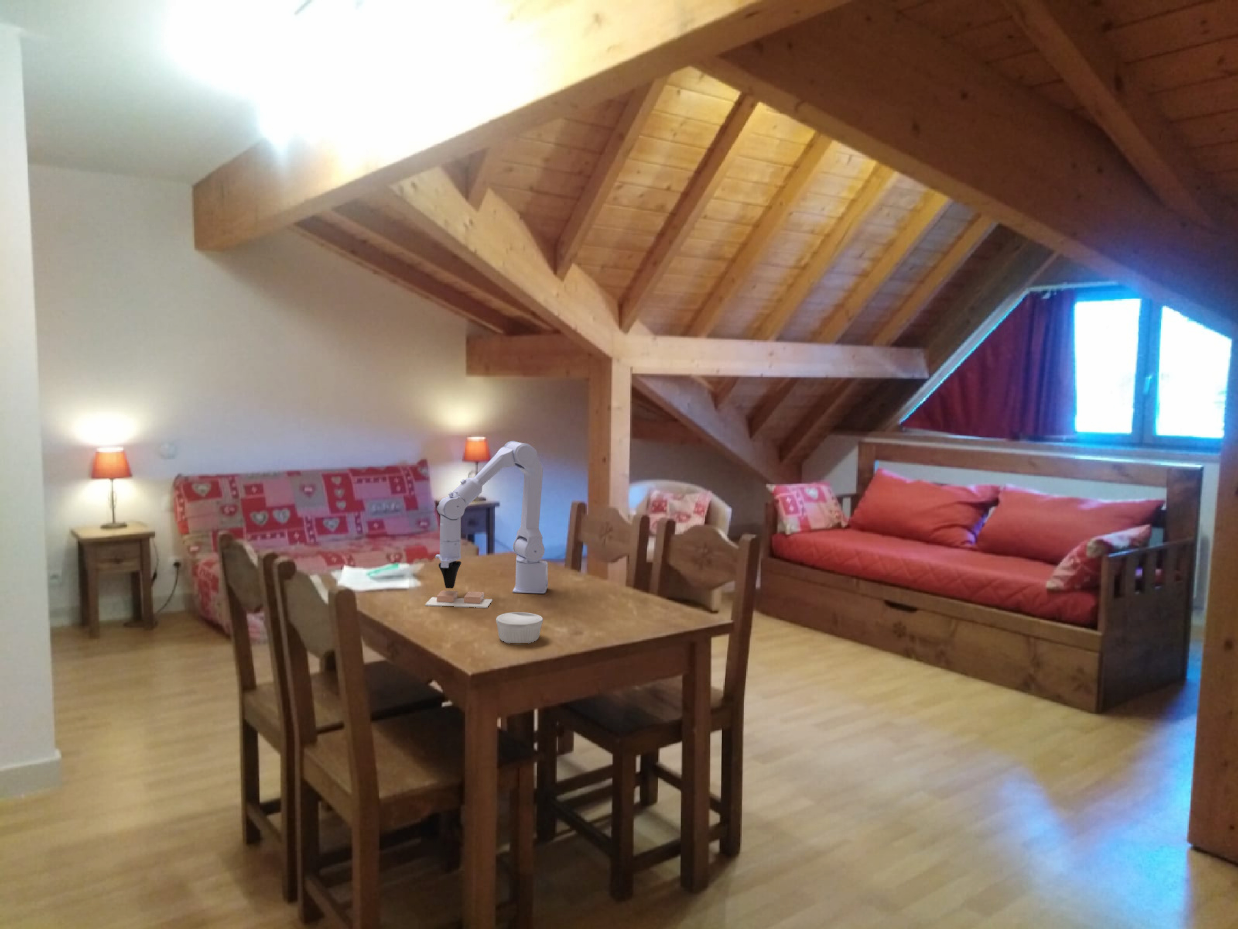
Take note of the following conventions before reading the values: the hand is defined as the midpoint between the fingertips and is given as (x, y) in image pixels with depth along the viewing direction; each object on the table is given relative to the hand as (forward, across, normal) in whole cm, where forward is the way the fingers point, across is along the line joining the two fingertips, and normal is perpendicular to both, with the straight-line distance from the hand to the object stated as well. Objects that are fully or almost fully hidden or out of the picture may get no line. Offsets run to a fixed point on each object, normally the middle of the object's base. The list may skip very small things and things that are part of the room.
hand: (449, 587), depth 250 cm
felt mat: (+3, +5, +4) cm, 7 cm away
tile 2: (+2, 0, +8) cm, 8 cm away
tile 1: (+2, 0, 0) cm, 2 cm away
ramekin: (+3, +36, +24) cm, 43 cm away
